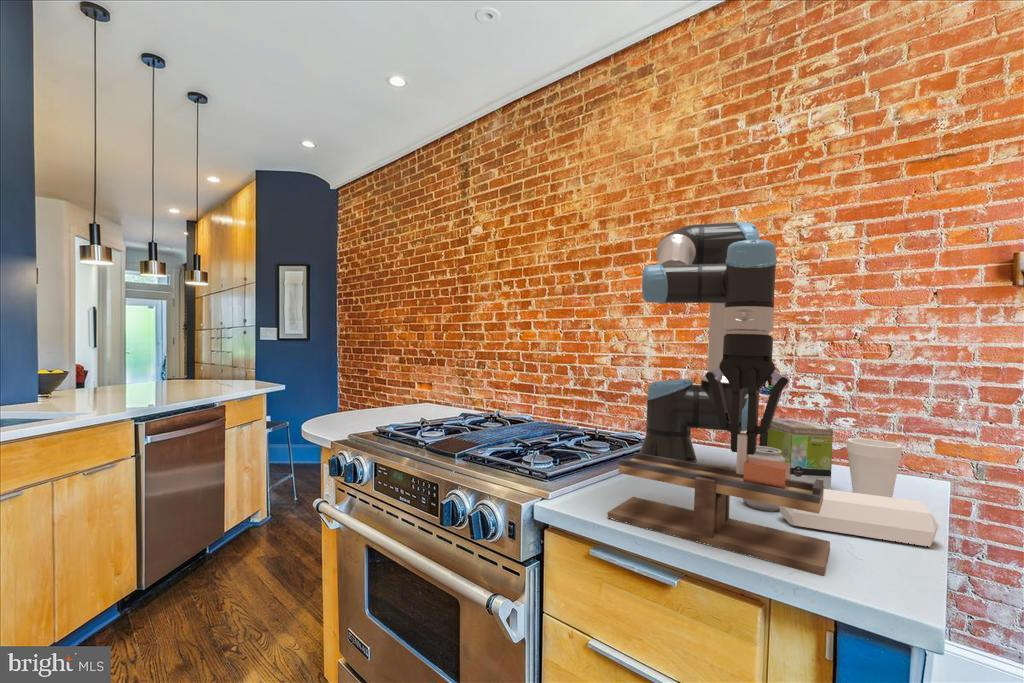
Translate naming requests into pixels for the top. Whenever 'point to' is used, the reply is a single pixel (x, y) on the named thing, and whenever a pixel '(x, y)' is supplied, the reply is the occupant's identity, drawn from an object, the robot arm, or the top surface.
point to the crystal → (869, 517)
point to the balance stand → (725, 529)
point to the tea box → (802, 448)
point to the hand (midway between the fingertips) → (742, 472)
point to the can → (766, 454)
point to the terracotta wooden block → (767, 472)
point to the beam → (724, 481)
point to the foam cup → (873, 466)
